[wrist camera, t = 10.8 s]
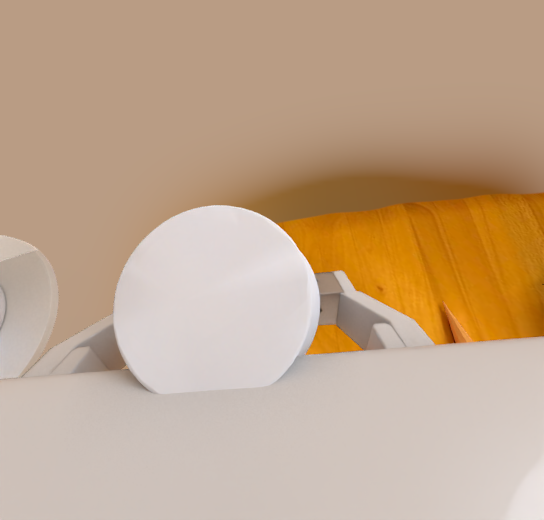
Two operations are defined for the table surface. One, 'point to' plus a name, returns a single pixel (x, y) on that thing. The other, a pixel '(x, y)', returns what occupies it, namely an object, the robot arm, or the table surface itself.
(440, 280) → the table surface
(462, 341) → the carrot
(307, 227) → the table surface
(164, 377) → the pill bottle
